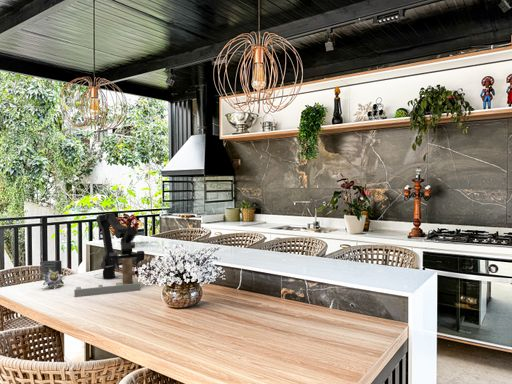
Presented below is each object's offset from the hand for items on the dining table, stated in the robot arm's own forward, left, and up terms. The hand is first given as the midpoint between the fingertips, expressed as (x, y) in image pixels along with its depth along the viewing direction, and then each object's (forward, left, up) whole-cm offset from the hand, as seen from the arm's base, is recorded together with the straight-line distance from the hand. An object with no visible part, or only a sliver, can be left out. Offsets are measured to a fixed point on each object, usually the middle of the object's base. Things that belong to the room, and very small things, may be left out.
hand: (127, 269), depth 213 cm
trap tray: (+10, -1, -11) cm, 15 cm away
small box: (+44, -50, -11) cm, 67 cm away
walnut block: (0, -1, -9) cm, 9 cm away
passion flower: (+40, -22, -11) cm, 46 cm away
